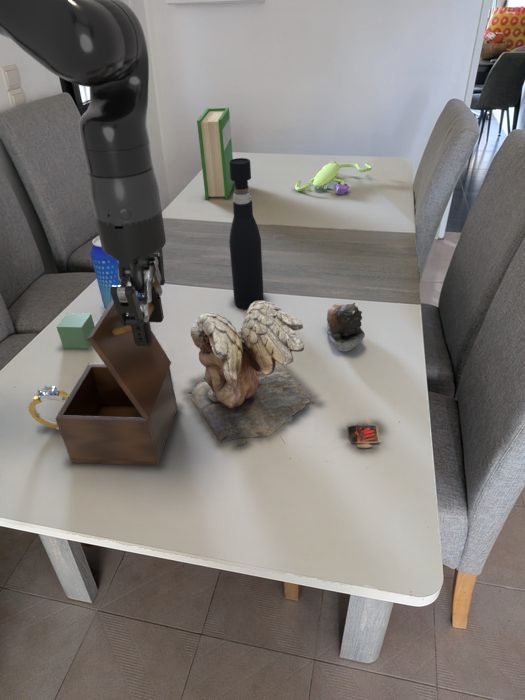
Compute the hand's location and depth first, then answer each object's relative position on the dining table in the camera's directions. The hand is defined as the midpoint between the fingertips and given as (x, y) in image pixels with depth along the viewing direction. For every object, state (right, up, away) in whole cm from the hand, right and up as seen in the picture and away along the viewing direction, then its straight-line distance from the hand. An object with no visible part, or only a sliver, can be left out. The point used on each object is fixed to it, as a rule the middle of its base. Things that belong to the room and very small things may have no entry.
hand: (150, 331), depth 69 cm
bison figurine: (+31, -1, +30) cm, 43 cm away
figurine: (+39, +54, +106) cm, 126 cm away
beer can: (-15, +7, +44) cm, 47 cm away
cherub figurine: (+13, -11, +17) cm, 24 cm away
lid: (-3, -3, +2) cm, 5 cm away
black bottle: (+12, +8, +44) cm, 46 cm away
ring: (-17, -15, +14) cm, 27 cm away
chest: (-6, -15, +12) cm, 20 cm away
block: (-21, -1, +34) cm, 40 cm away
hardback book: (+1, +52, +106) cm, 118 cm away
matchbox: (+30, -16, +9) cm, 35 cm away
